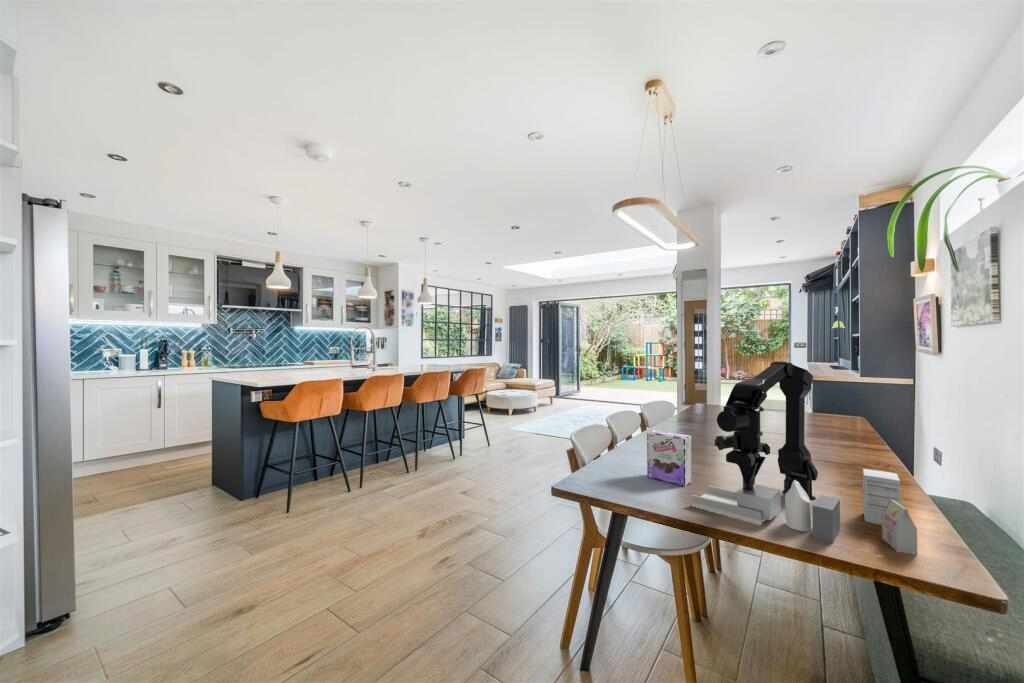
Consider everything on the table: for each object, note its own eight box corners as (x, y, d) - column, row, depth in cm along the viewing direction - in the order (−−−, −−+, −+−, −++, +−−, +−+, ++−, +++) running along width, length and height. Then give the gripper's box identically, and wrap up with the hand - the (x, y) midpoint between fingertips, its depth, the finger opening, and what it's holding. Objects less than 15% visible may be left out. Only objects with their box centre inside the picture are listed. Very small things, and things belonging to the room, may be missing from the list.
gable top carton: (900, 541, 100) (900, 499, 100) (917, 554, 93) (916, 510, 93) (881, 538, 101) (881, 497, 101) (896, 552, 94) (896, 508, 94)
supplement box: (862, 512, 116) (862, 468, 116) (898, 519, 111) (898, 473, 111) (863, 521, 110) (863, 474, 110) (901, 529, 106) (901, 480, 106)
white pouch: (810, 486, 104) (784, 481, 107) (811, 533, 104) (784, 527, 107) (810, 479, 109) (784, 475, 112) (810, 524, 109) (785, 519, 112)
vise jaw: (737, 511, 114) (736, 473, 114) (748, 501, 121) (748, 465, 121) (770, 520, 108) (769, 480, 108) (780, 509, 115) (780, 472, 115)
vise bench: (691, 506, 121) (691, 479, 121) (708, 494, 130) (708, 469, 130) (831, 545, 97) (831, 511, 98) (841, 528, 106) (840, 497, 107)
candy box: (646, 477, 148) (646, 431, 148) (654, 473, 152) (653, 429, 152) (685, 487, 138) (684, 437, 138) (692, 482, 142) (691, 435, 142)
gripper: (729, 419, 128) (730, 469, 128) (706, 428, 116) (706, 484, 115) (770, 424, 120) (770, 478, 120) (750, 435, 107) (750, 494, 107)
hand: (749, 483), depth 116 cm, fingers closed on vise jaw, 3 cm apart
